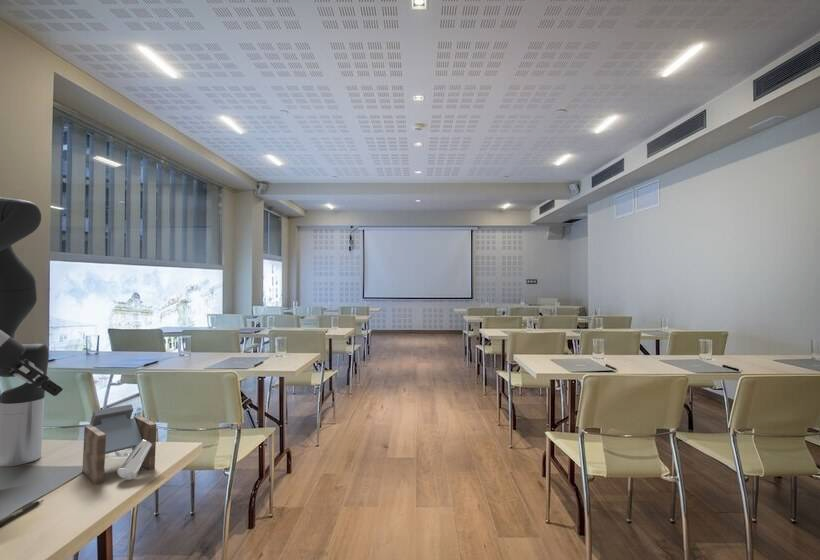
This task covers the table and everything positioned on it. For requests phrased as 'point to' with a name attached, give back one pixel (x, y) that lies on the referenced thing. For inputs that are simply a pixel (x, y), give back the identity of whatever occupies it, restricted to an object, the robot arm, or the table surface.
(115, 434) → the trapdoor
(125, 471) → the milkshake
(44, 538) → the table surface
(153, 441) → the stand
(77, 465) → the table surface
